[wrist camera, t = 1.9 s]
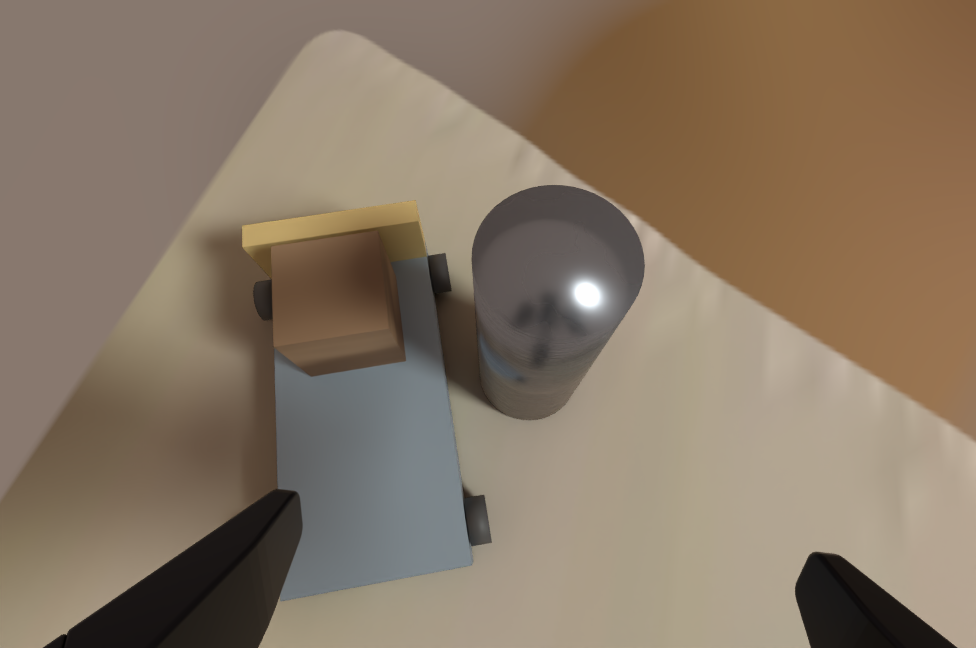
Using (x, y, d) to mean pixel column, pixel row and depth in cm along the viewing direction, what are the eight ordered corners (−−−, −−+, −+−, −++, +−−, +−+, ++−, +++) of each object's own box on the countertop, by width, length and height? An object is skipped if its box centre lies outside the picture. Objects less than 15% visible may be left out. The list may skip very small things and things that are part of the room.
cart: (494, 557, 21) (495, 568, 16) (276, 598, 20) (214, 621, 16) (445, 253, 26) (436, 197, 21) (269, 280, 25) (221, 228, 21)
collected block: (406, 361, 22) (388, 328, 18) (311, 376, 21) (273, 347, 18) (396, 277, 23) (377, 230, 19) (306, 291, 23) (271, 246, 19)
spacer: (588, 345, 24) (663, 214, 14) (558, 435, 22) (617, 365, 12) (499, 313, 24) (507, 165, 14) (464, 399, 23) (444, 302, 13)
